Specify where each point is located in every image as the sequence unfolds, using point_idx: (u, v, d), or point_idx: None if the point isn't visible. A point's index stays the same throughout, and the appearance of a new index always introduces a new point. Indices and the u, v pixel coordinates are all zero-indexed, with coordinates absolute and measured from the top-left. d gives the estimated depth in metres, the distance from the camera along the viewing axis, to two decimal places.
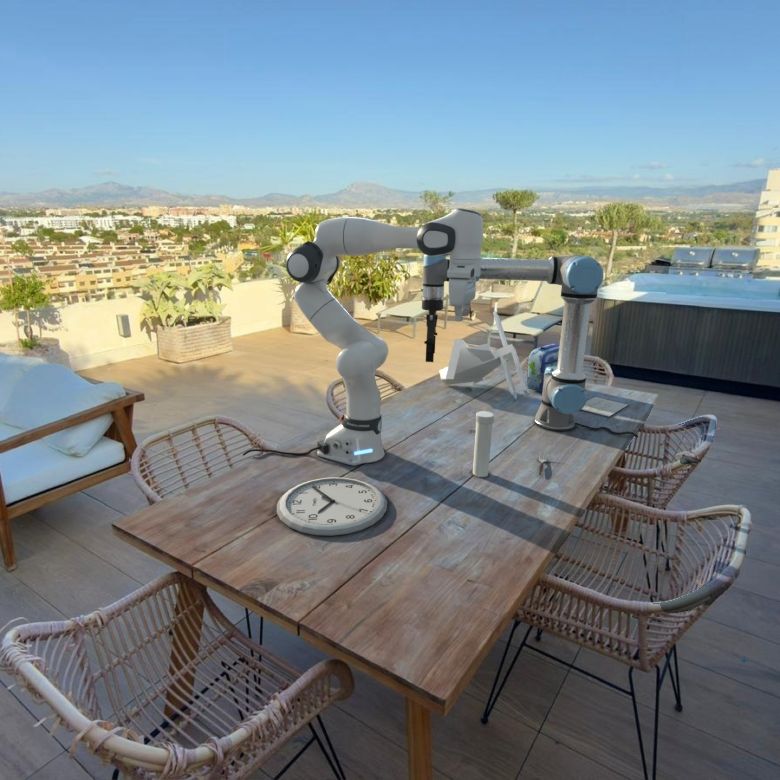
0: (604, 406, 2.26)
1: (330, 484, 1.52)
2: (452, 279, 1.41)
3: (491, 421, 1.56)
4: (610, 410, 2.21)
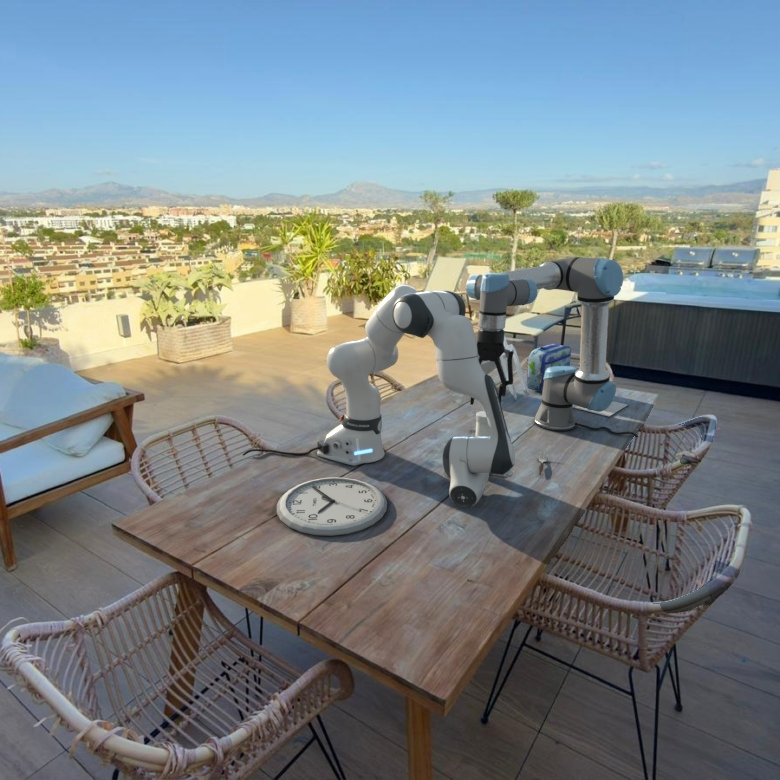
0: None
1: (330, 484, 1.52)
2: None
3: None
4: (610, 410, 2.21)
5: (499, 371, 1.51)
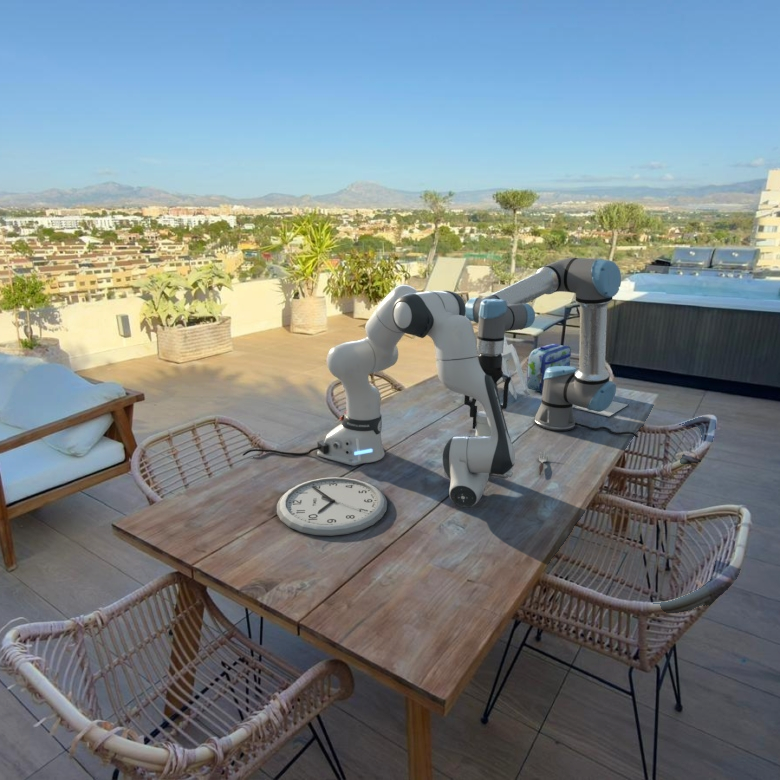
0: None
1: (330, 484, 1.52)
2: None
3: None
4: (610, 410, 2.21)
5: None
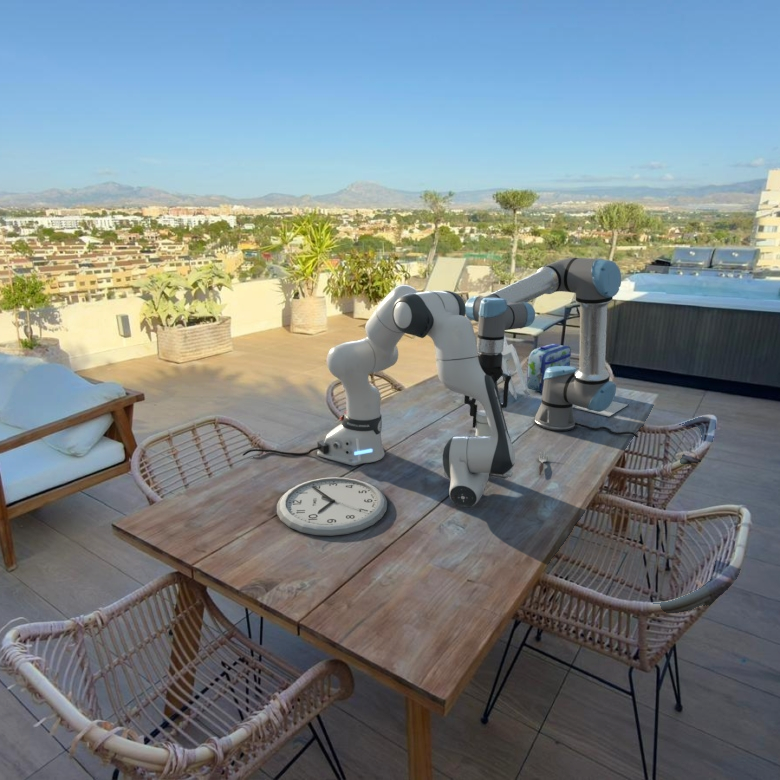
0: None
1: (330, 484, 1.52)
2: None
3: None
4: (610, 410, 2.21)
5: None
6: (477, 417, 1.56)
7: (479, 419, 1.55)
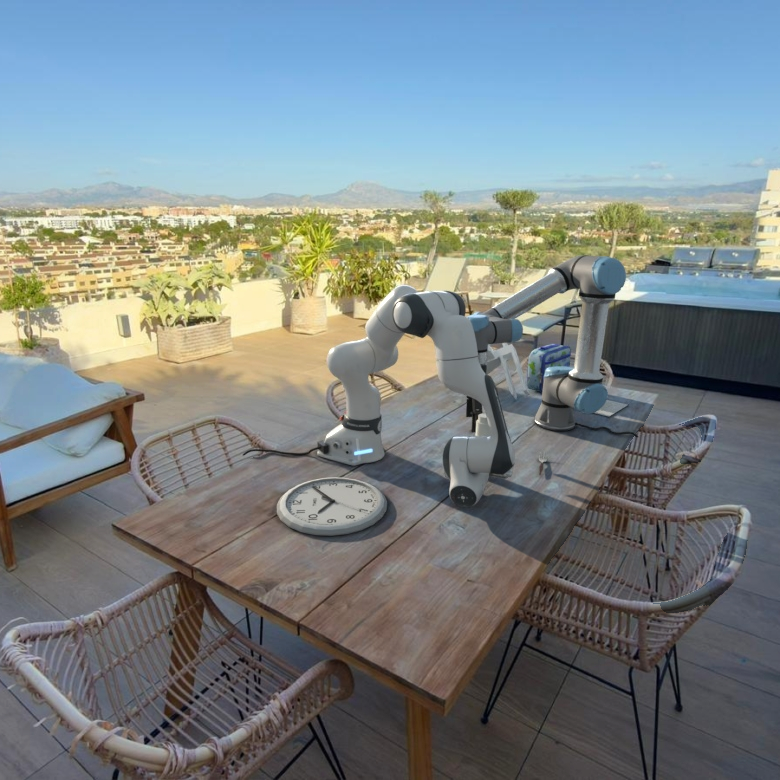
0: (604, 406, 2.26)
1: (330, 484, 1.52)
2: None
3: None
4: (610, 410, 2.21)
5: None
6: None
7: None
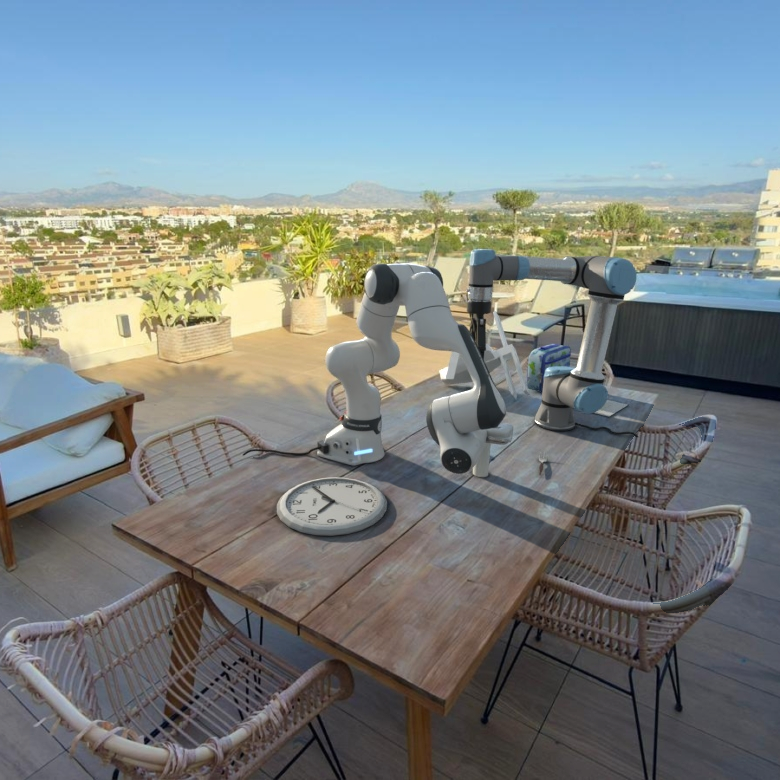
0: (604, 406, 2.26)
1: (330, 484, 1.52)
2: None
3: None
4: (610, 410, 2.21)
5: None
6: None
7: None
